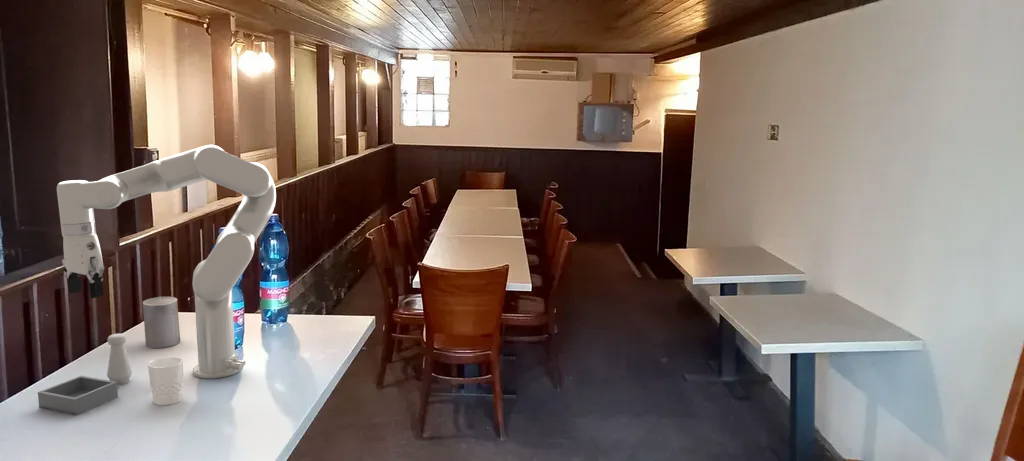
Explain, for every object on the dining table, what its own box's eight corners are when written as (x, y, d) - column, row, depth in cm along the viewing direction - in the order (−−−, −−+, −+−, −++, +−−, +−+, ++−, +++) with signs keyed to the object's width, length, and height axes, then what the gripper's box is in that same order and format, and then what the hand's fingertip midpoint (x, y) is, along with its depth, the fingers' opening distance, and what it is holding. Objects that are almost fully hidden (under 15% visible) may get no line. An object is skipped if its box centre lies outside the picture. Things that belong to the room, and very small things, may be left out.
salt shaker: (121, 386, 194) (118, 339, 192) (102, 384, 195) (98, 337, 193) (137, 378, 199) (133, 332, 197) (118, 377, 201) (114, 330, 198)
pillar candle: (158, 337, 234) (154, 291, 232) (186, 339, 233) (183, 293, 230) (138, 347, 225) (134, 300, 222) (168, 349, 223) (164, 301, 221)
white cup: (192, 396, 188) (189, 359, 186) (168, 408, 181) (166, 369, 179) (167, 392, 191) (165, 355, 189) (143, 403, 183) (140, 365, 182)
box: (118, 397, 187) (117, 381, 186) (76, 415, 176) (74, 399, 175) (82, 390, 191) (81, 375, 190) (39, 407, 180) (37, 392, 179)
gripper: (112, 229, 187) (119, 295, 190) (75, 224, 196) (82, 287, 199) (82, 234, 181) (90, 302, 184) (45, 228, 189) (53, 293, 192)
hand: (86, 294), depth 191 cm, fingers open, 9 cm apart
